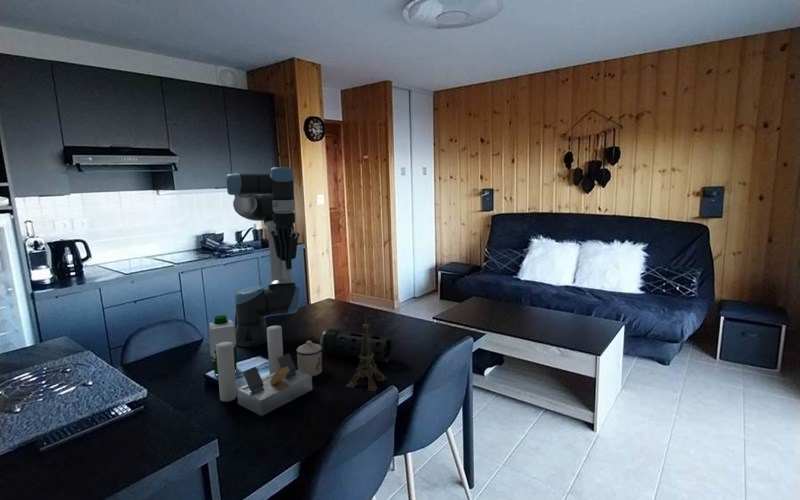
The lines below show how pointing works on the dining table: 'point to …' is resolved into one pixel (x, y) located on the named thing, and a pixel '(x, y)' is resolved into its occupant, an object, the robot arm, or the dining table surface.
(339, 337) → the muzzle brake
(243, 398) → the block
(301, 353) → the teacup with lid
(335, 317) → the dining table surface
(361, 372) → the eiffel tower
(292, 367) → the paddle right
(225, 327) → the milk carton
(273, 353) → the post far
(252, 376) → the paddle left
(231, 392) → the post near
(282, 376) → the block
